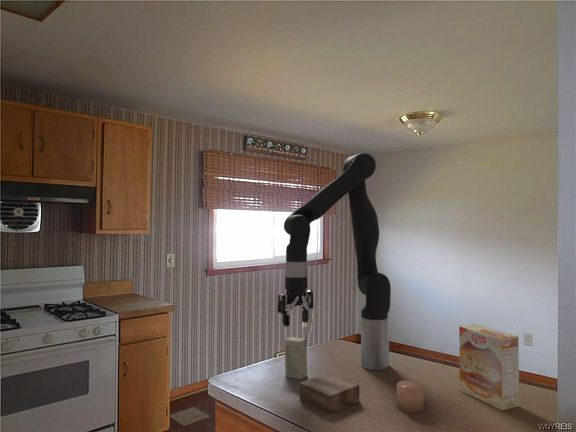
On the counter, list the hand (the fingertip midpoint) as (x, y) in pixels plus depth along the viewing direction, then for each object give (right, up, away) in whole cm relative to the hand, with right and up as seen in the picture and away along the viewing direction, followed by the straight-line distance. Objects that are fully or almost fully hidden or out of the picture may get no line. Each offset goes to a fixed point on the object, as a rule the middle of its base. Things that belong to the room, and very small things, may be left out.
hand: (295, 324), depth 136 cm
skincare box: (0, -17, 0) cm, 17 cm away
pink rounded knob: (+31, -17, -24) cm, 42 cm away
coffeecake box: (+55, -17, -17) cm, 60 cm away
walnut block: (+9, -17, -19) cm, 27 cm away
